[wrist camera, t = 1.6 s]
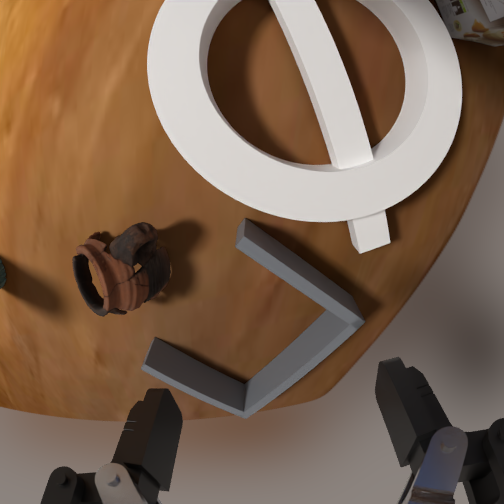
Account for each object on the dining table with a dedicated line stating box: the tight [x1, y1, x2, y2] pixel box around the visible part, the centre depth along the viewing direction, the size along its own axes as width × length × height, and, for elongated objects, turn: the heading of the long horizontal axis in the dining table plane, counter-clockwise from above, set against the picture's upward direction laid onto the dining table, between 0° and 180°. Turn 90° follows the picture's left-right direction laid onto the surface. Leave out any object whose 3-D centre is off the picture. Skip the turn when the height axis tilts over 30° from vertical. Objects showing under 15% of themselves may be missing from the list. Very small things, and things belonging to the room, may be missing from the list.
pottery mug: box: [73, 222, 171, 316], centre depth 28 cm, size 12×10×8 cm
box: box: [141, 218, 365, 419], centre depth 31 cm, size 15×20×5 cm
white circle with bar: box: [147, 0, 462, 253], centre depth 21 cm, size 28×28×5 cm
